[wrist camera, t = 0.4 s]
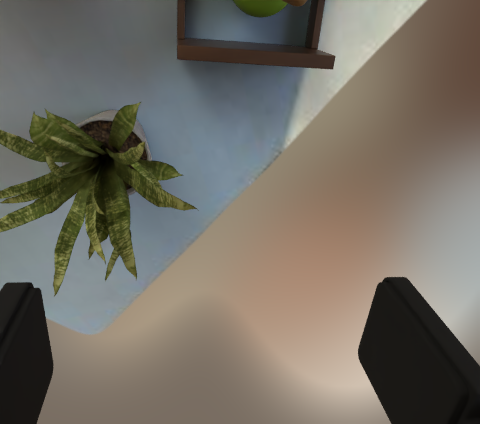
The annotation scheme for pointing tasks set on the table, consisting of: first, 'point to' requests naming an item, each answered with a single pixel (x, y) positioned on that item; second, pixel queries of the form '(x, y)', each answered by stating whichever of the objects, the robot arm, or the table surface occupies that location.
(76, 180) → the house plant
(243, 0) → the snail figurine
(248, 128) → the table surface
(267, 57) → the frame
